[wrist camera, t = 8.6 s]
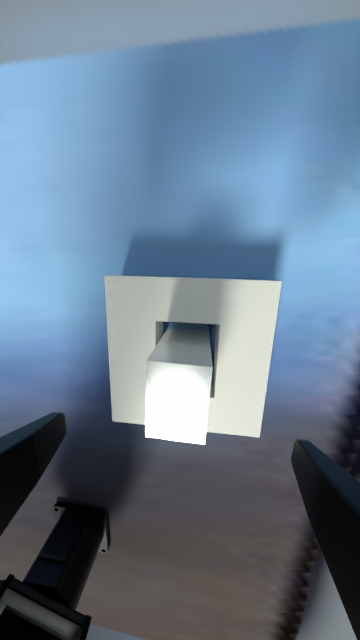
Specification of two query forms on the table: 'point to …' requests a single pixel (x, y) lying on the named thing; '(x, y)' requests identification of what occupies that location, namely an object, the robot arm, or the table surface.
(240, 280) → the hub block
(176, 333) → the keyed peg
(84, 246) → the table surface
